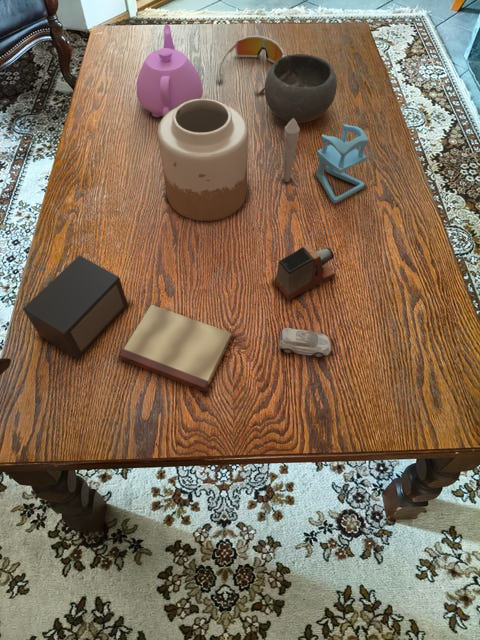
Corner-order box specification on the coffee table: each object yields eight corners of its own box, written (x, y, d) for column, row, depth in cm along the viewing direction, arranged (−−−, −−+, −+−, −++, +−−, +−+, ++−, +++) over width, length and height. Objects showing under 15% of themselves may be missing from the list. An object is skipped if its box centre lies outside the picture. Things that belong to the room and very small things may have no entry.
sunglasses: (292, 62, 121) (293, 43, 117) (266, 104, 115) (266, 85, 111) (238, 48, 124) (237, 29, 120) (211, 88, 119) (209, 70, 114)
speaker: (78, 360, 77) (64, 334, 70) (39, 335, 79) (22, 308, 73) (128, 305, 82) (120, 277, 76) (90, 284, 85) (79, 254, 78)
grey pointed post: (295, 184, 98) (303, 121, 86) (282, 186, 98) (288, 124, 86) (290, 175, 100) (298, 112, 88) (277, 178, 99) (283, 115, 87)
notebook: (120, 360, 77) (118, 354, 75) (152, 309, 82) (150, 303, 81) (205, 392, 74) (204, 387, 73) (232, 337, 79) (232, 332, 78)
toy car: (329, 359, 77) (333, 349, 75) (277, 352, 78) (279, 342, 75) (331, 339, 79) (334, 328, 77) (280, 332, 80) (281, 322, 77)
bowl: (250, 120, 109) (251, 75, 101) (285, 86, 116) (289, 42, 108) (310, 144, 105) (316, 100, 96) (343, 108, 112) (351, 64, 103)
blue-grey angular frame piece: (335, 164, 101) (346, 111, 91) (364, 187, 98) (379, 135, 88) (306, 179, 99) (314, 126, 89) (334, 204, 95) (346, 151, 85)
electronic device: (335, 278, 86) (342, 249, 79) (288, 302, 83) (291, 274, 77) (319, 261, 88) (325, 231, 81) (273, 284, 85) (275, 255, 79)
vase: (261, 203, 95) (266, 126, 81) (189, 233, 91) (181, 157, 77) (222, 156, 102) (219, 78, 88) (153, 183, 98) (139, 105, 84)
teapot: (143, 77, 118) (134, 23, 107) (204, 76, 118) (201, 22, 108) (135, 131, 107) (125, 77, 96) (202, 131, 107) (199, 76, 97)
